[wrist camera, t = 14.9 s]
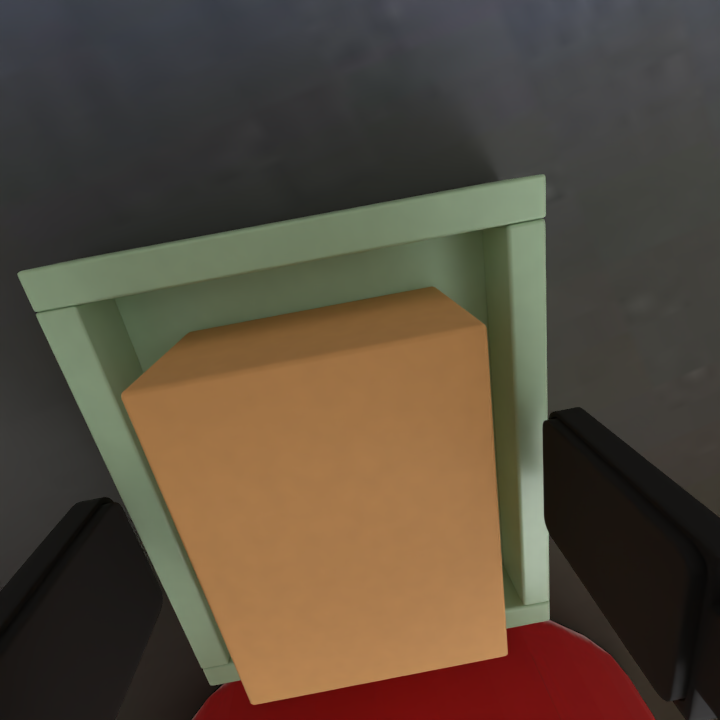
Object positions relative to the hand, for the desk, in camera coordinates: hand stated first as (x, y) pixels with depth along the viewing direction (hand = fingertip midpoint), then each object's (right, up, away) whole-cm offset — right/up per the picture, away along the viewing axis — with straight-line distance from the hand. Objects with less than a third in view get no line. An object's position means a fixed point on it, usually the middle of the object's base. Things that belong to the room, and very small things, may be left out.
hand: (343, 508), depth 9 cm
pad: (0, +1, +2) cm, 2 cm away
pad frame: (0, +1, +3) cm, 3 cm away
